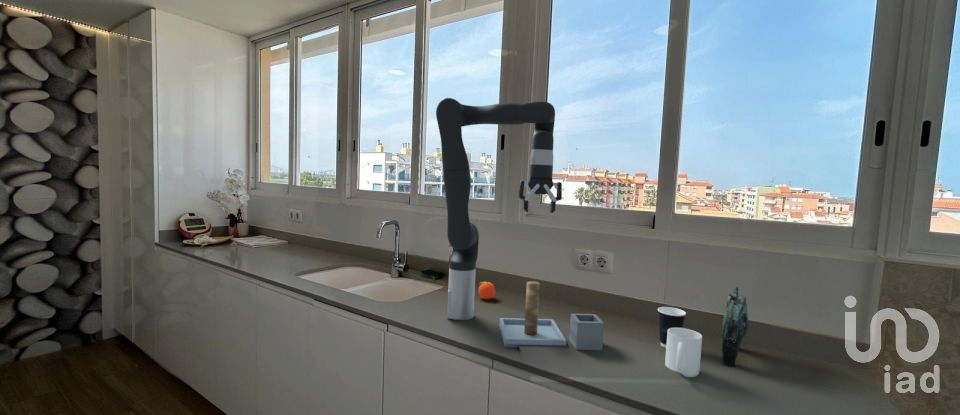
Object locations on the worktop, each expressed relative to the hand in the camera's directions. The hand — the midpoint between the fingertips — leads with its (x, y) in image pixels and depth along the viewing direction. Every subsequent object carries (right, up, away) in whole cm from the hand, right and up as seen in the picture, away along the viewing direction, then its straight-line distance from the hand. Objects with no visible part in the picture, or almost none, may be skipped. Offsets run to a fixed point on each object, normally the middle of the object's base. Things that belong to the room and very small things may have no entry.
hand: (539, 212), depth 140 cm
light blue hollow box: (+11, -40, -17) cm, 45 cm away
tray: (-4, -39, -9) cm, 40 cm away
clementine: (-18, -36, +29) cm, 49 cm away
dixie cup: (+38, -41, -12) cm, 57 cm away
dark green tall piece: (+54, -42, -18) cm, 71 cm away
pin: (-4, -38, -9) cm, 39 cm away
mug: (+33, -42, -31) cm, 61 cm away
